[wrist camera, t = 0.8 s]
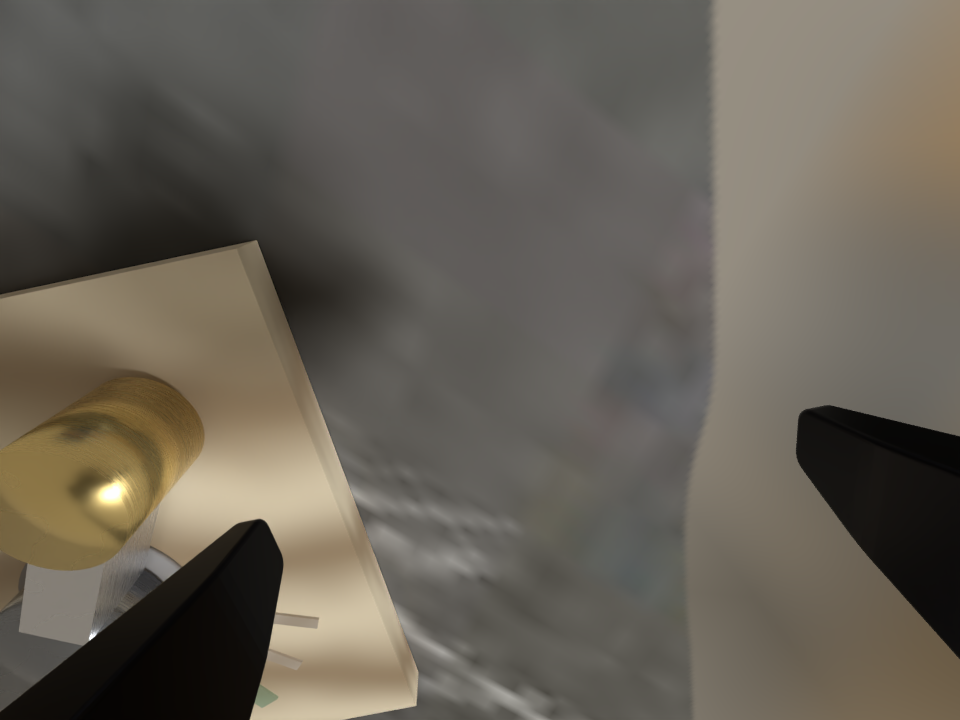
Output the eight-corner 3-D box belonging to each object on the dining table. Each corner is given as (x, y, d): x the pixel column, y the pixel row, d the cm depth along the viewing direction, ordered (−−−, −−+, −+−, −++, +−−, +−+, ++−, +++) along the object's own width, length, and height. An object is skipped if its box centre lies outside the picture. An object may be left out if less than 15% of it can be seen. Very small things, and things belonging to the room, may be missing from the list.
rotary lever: (157, 700, 19) (91, 822, 16) (17, 673, 18) (-87, 797, 15) (242, 409, 14) (176, 490, 11) (60, 349, 13) (-77, 417, 10)
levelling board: (418, 671, 22) (415, 711, 21) (44, 743, 23) (13, 787, 21) (256, 239, 14) (232, 250, 13) (-308, 360, 15) (-400, 384, 13)
